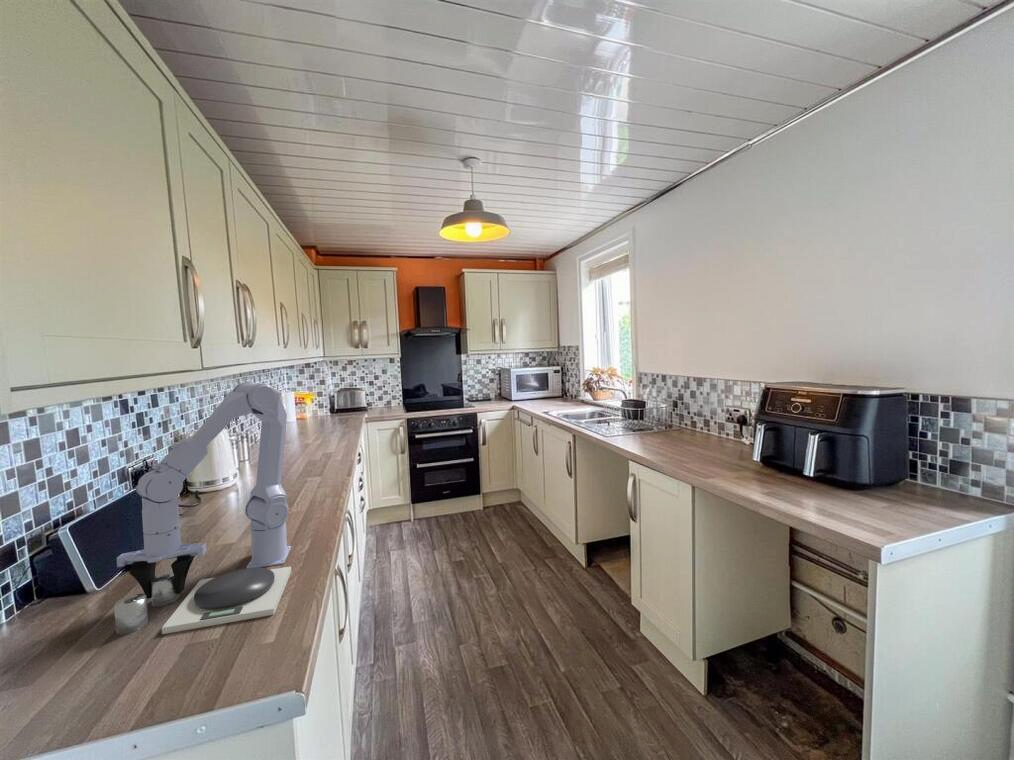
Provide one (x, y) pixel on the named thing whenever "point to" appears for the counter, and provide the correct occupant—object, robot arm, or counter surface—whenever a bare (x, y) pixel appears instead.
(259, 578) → the scale pan
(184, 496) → the counter surface
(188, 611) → the scale base
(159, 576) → the cylinder
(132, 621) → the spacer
